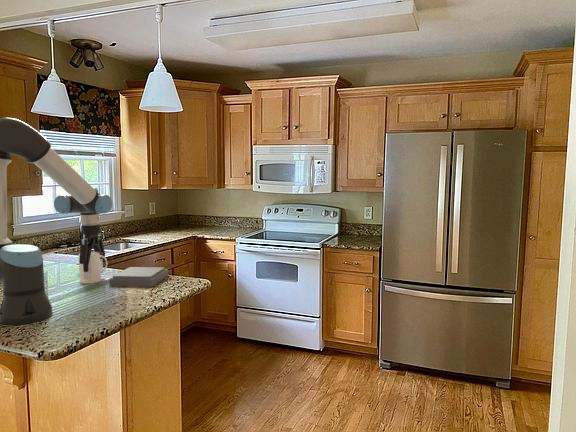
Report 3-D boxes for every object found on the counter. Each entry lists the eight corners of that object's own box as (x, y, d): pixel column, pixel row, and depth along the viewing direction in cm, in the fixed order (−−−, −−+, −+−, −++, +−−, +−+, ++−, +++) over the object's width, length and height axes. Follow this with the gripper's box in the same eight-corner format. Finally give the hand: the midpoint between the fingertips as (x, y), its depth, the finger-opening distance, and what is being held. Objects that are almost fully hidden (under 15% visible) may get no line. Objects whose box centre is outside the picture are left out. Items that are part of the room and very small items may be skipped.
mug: (105, 276, 199) (104, 249, 198) (112, 279, 192) (110, 252, 191) (77, 280, 191) (75, 253, 190) (83, 284, 185) (81, 256, 184)
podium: (152, 286, 181) (151, 277, 180) (109, 286, 183) (109, 276, 182) (168, 275, 199) (167, 266, 198) (129, 275, 200) (128, 266, 200)
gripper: (85, 227, 177) (88, 282, 180) (111, 221, 199) (114, 270, 202) (67, 227, 178) (70, 282, 181) (95, 221, 200) (98, 270, 202)
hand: (93, 276), depth 191 cm, fingers closed on mug, 9 cm apart
